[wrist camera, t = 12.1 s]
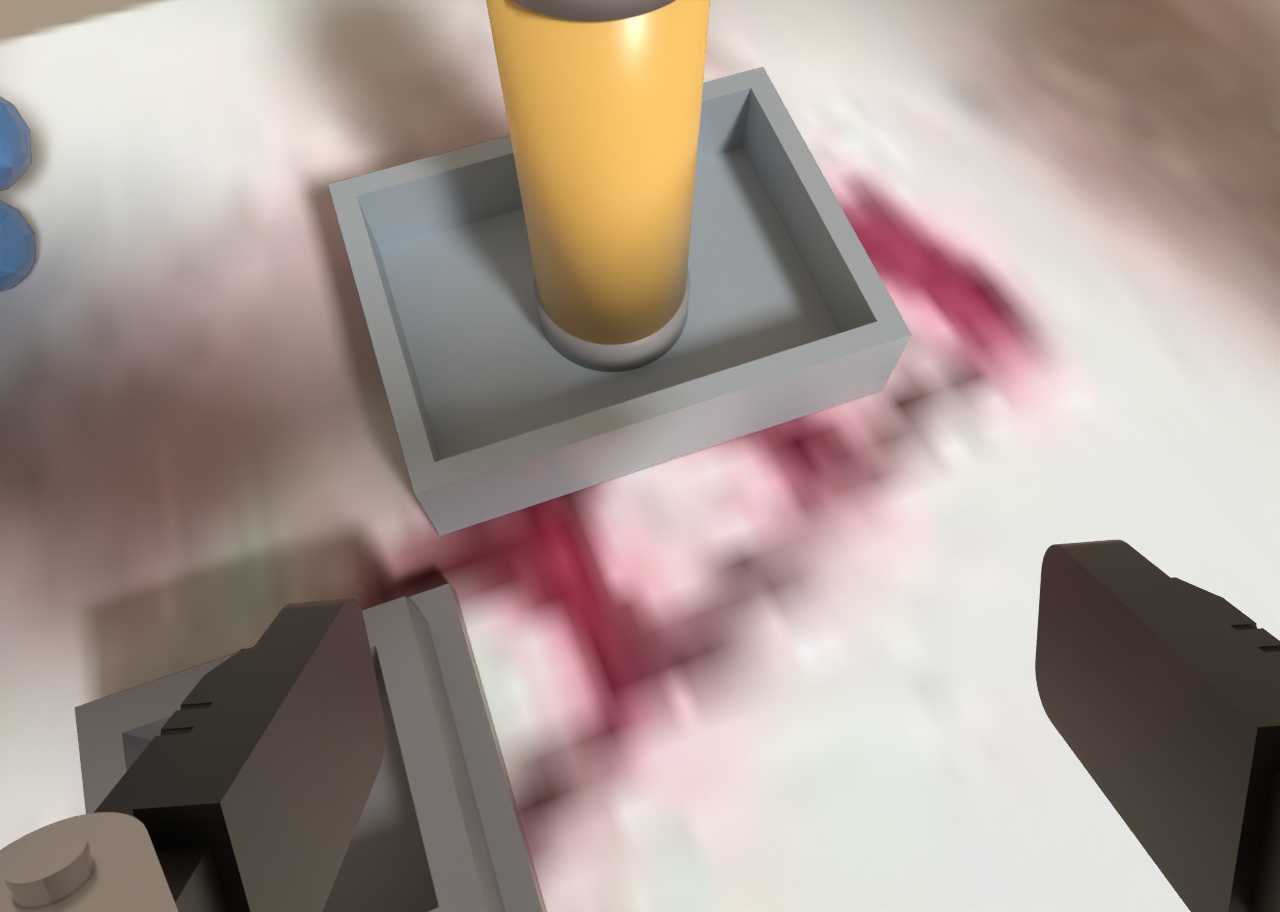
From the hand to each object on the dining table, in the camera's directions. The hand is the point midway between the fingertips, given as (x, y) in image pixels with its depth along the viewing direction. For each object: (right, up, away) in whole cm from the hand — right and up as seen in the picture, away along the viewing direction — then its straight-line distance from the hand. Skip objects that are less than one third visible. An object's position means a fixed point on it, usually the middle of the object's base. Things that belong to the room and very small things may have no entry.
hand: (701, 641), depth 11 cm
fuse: (-1, +6, +14) cm, 15 cm away
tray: (-1, +6, +14) cm, 15 cm away
